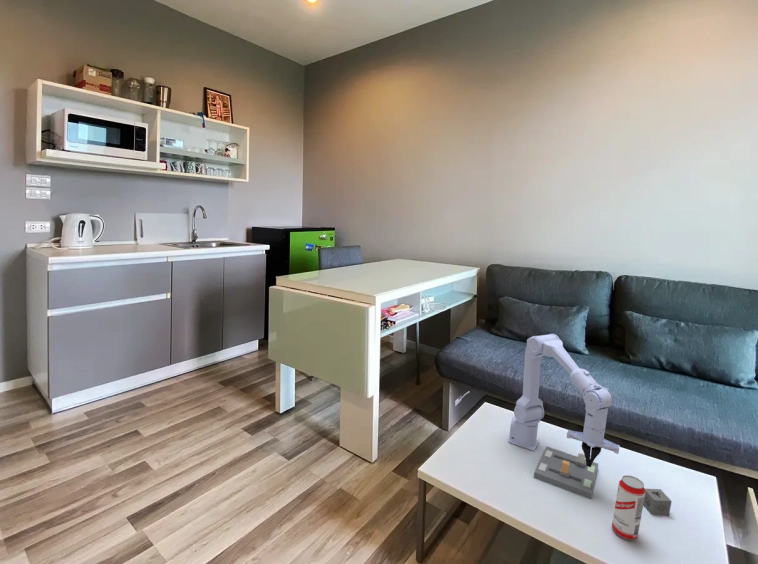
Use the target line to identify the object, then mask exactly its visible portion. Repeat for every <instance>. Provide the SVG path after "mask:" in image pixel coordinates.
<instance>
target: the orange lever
mask: <svg viewBox="0 0 758 564" xmlns="http://www.w3.org/2000/svg"><path fill="white" fill-rule="evenodd" d="M569 466H570V462H568V461H565V460H563V462H562V468H561V469H560V473H559V475H562V476H565V477H568V478H569V475H570V471H569Z"/></svg>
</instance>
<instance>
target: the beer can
mask: <svg viewBox="0 0 758 564" xmlns="http://www.w3.org/2000/svg"><path fill="white" fill-rule="evenodd" d="M645 489H646V488H645V484H644V482H643V480H640V479H639V478H637V477H636V476H632V475H629V474H628V475H623V476H622V477H621V479H620V480H619V482H618V486H617V493H616V497H615V498H616V499H615V505H614V510H613V517H612V523H611V526H612V530H613V531H614V533H616V534H617V536H619V538H622V539H624V540H628V541H630V540H632V541H633V540H636V539H637V538H638V537H639V532H640V526H641V519H642V514H643V508H644V505H643V503H644V498H645Z"/></svg>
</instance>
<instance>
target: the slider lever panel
mask: <svg viewBox="0 0 758 564" xmlns="http://www.w3.org/2000/svg"><path fill="white" fill-rule="evenodd" d="M577 458H578V455H574V454H570V453H567V452H565V451H561V450H559V449H556V448H554V447H550V446H547V445H546V446H545V448H544V451H543V453H542V455H541V457H540V459H539V461H538V463H537V466H536V467H535V470H534V472H533V478H534V479H537V480H539V481H542V482H545V483H547V484H550V485H551V486H554V487H555V486H556V487H557V488H560V489H563V490H565V491H568V492H571V493H574V494H577V495H579V496H581V497H583V498H586V499H590V500H592V496H593V495H592V494H593V492H594V491H593V490H594V486H595V481H596V477H597V473H598V469H599V463H598V462H596V461H595V462H594V461H593V463H592V466H591V467H588V466H586V464H585V468H584V467H581V466H578V465H576V460H577ZM563 460H565V461H568V462H570V466H569V471H570V475H569V478H568V477H565V476H562V475H559V473H560V469H561V468H562V462H563ZM585 461H586V458H585Z"/></svg>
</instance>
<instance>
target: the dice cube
mask: <svg viewBox="0 0 758 564" xmlns="http://www.w3.org/2000/svg"><path fill="white" fill-rule="evenodd" d="M644 489H645V498H644V503H643V508H645V509H646V510H647V511H648V513H649V514H650V515H651V516H662V517H663V516H665V517H666V516H667V517H669V516H670V511H671V507H672V500H671V498H669V496H668V495H666V494H665V492H664V491H663V490H662V489H660V488H644Z"/></svg>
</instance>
